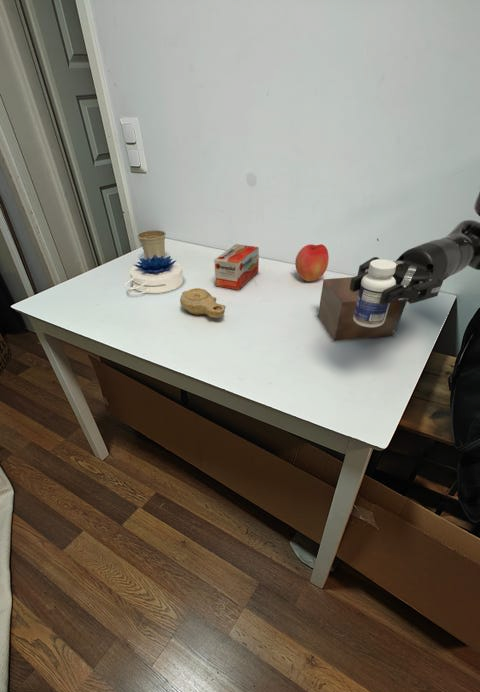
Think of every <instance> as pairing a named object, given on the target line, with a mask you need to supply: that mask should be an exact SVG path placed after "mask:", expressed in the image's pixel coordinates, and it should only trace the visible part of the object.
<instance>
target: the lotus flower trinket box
mask: <svg viewBox="0 0 480 692" xmlns="http://www.w3.org/2000/svg"><path fill="white" fill-rule="evenodd" d="M146 259H147V260H146ZM183 274H184V273H183V267H182V265H181V264H180V263H178V262H177V260H173V258H172V257H171V255H169V256H167V257H165V259H164V258H163V256H161V257H159V258H158V257H157V256H156V255H154V256H153V258H152V259H150V258H148V257H147V258H146V257H145V258H143V257H142V258H139V261H136V264H133V266H132V267H131V268H130V269H129V276H130V279H129V280H128V281H126V282H125V284H124V288H126V290H125V292H126V293H127V294H129V295H142V294H162V293H168V292H172V291H174V290H176V289H178V288H180V287H181V286H182V284H183V283H184V275H183ZM129 283H132V286H131V287H129V286H127V285H128V284H129ZM129 290H136V291H138V292H131V291H130V292H129Z"/></svg>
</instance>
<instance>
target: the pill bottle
mask: <svg viewBox="0 0 480 692" xmlns="http://www.w3.org/2000/svg"><path fill="white" fill-rule="evenodd" d="M395 269H396V263H394V261H393V260H389V259H384V258H383V259H381V258H379V259H377V260H373V261H371V262H370V265H369V269H368V273H369V274H367V275H365V276H364V277H363V278H362V281H361V284H360V289H359V294H358V298H357V302H356V307H355V312H354V317H353V319H354V321H355V322H356V323H357V324H359V325H361V326H364V327H378V326H381V325H382V324H383V323H384V321H385V318H386V315H387V312H388V309H389V305H390V303H387V304H385V305H383V304H380V298H381V295H382V292H383V291H384V290H385V289H387V288H390V287H392V286H394V285H396V281H395V279H394V277H393V275H394V273H395Z"/></svg>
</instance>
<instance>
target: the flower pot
mask: <svg viewBox="0 0 480 692" xmlns="http://www.w3.org/2000/svg"><path fill="white" fill-rule="evenodd" d="M166 235H167V233H166V231H164V230H161V229H149V230H143V231H141V232H138V233H137V234H136V237H137V238H138V241H139V242H140V245H141V247H142V250H143V253H144V255H145V259H146V258H147V257H148V258H150V259H152V258H153V256H154V255H156V256H157V257H158V258H159V257H161V256H163V258H164V259H165V258H166V247H165V245H166V244H165V243H166V242H165V240H166ZM146 260H147V259H146Z"/></svg>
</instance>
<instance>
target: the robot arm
mask: <svg viewBox="0 0 480 692" xmlns="http://www.w3.org/2000/svg"><path fill="white" fill-rule="evenodd" d="M473 209H474V212H475V213H476V214H477V216H479V217H480V191H479V192H478V194H477V197H476V199H475V201H474V204H473ZM377 259H380V257H377V256H375V257H372V258H370V259H368V260H366V261H365V262H363V263H362V264H360V265H359V266H358V270H357V275H355V276H352V277H353V278H352V279H351V284H350V290H351V291H353V292H355V291H357V290H359V289H360V284H361V281H362V278H363V277H364V276H365V275H367V274H369V273H368V269H369V265H370V262H371V261H373V260H377ZM393 262H394V263H396V269H395V273H394V275H393V277H394V279H395V281H396V285H394V286H392V287H390V288H387V289H385V290H384V291H383V292H382V295H381V298H380V304H383V305H385V304H387V303H392V302H394V301H396V300H404V298H407V299H408V302H407V303H409V302H410V303H412V304H415V303H419V302H422V301H425V300H429V299H432V298H436V297H438V295H439V293H440V291H441V288H442V287H443V283H444V281H445V280H447V279H448V278H449V277H451V276H453V275H455V274H457V273H459V272H461V271H463V270H464V269H466V268H467V267H469V268H472V269H474V270H478V271H480V222H479V221H477V220H473V219H466V220H462V221H460V222H458V224H457V225H455V226H454V227H453V229H452V230H451V231H450V232H449V233H448V234H447V235H446V236H444V237H442V238H439V239H433V240H430V241H427V242H425V243H422V244H419V245H417V246H413V247H412V248H408V249H407V250H405V251H403V253H402V254H400V255H399V256H398V258H397V259H396V260H394V261H393ZM410 303H409V304H410Z"/></svg>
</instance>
